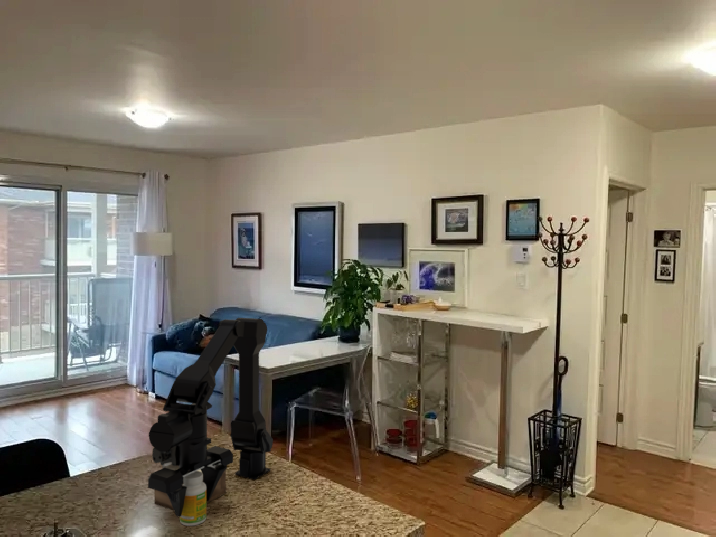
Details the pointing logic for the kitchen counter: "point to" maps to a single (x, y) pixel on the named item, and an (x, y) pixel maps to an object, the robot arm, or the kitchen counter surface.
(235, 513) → the kitchen counter surface
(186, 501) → the supplement bottle
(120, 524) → the kitchen counter surface
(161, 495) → the box
